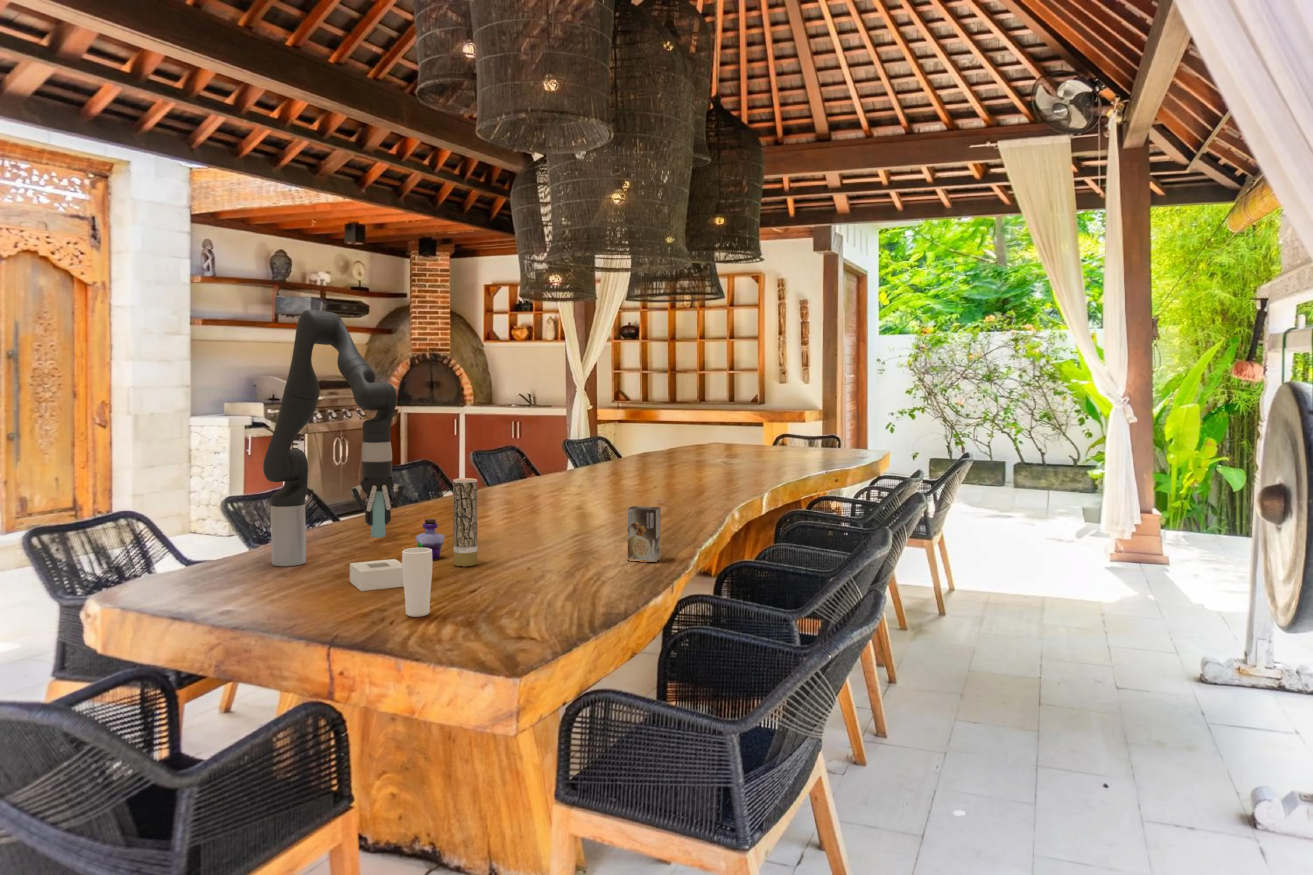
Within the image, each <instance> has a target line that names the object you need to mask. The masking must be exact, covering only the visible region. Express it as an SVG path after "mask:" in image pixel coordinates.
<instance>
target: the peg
mask: <svg viewBox="0 0 1313 875" xmlns="http://www.w3.org/2000/svg"><path fill="white" fill-rule="evenodd" d="M371 511H372V526H370V538H375V539H376V538H385V537H386V524H385V501H384V496H383V491H376V492H375V497H374V501H373V504H372V508H371Z"/></svg>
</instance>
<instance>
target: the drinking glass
mask: <svg viewBox="0 0 1313 875" xmlns="http://www.w3.org/2000/svg"><path fill="white" fill-rule="evenodd" d="M401 553H402V554H401V563H402V573H403V583H404V587H403V593H404V600H405V601H404V604H405V615H406V616H408V617H414V618H420V617H425V616H428V615H429V614H430V611H431V610H430V606H431V604H430V603H431V589H432V578H433V560H432V549H429V548H418V547H410V548H404V549H403V550H402V552H401Z"/></svg>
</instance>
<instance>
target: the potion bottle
mask: <svg viewBox="0 0 1313 875" xmlns="http://www.w3.org/2000/svg"><path fill="white" fill-rule="evenodd" d="M422 528H423V529H424V530H425V532H423V533H419V534H417V535H416V536H415V539H416V544H417V546H416V548H429V549H432V561H434V560H433V559H438V558H439V559H440V558H441V552H442V549H443V548H442V546H443V545H444V540H445V537H446V536H445V534H443V533H438V532H436V529H438V528H439V524H438V522H437V520H436V519H435V518H425V519H424V522H423V523H422ZM439 559H438V560H439Z"/></svg>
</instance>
